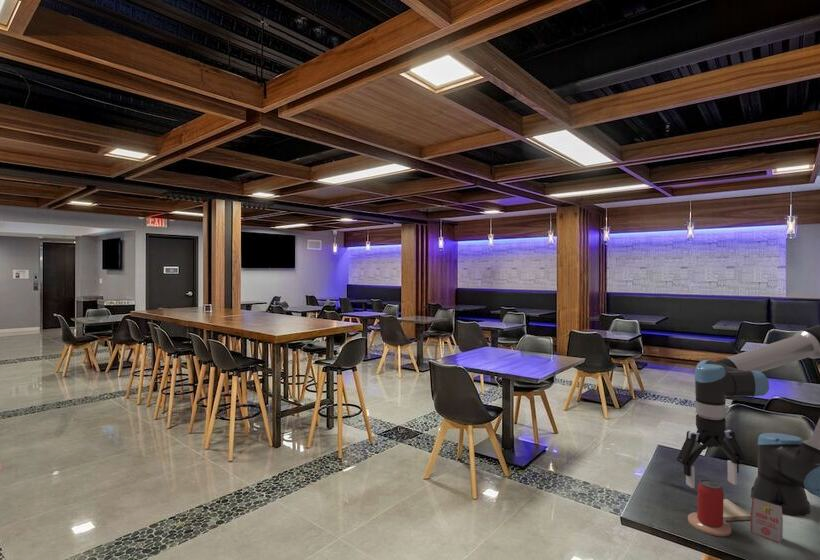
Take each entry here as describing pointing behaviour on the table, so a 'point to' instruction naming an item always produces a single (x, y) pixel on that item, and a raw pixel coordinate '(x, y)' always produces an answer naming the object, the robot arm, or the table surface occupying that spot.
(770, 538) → the printed cardboard carton
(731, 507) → the square tan board
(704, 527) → the coaster
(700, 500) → the beer can
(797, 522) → the table surface
